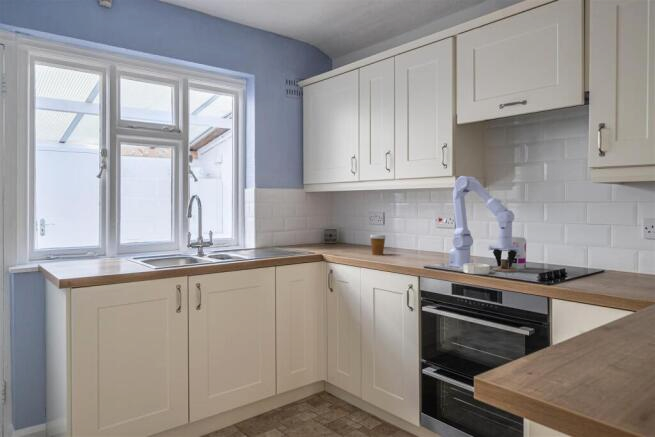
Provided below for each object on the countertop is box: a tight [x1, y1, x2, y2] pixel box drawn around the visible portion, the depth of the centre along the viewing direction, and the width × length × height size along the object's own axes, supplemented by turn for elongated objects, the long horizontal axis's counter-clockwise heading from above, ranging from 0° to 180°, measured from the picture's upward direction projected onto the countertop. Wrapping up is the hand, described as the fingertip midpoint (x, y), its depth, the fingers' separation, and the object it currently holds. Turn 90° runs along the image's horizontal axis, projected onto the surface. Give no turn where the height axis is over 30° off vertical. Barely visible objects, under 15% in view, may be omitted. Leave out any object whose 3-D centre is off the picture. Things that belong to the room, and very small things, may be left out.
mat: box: [490, 267, 521, 275], centre depth 211 cm, size 14×10×1 cm
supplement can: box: [506, 236, 527, 270], centre depth 219 cm, size 8×8×15 cm
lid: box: [492, 258, 518, 273], centre depth 210 cm, size 10×10×5 cm
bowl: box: [462, 262, 491, 275], centre depth 206 cm, size 11×11×4 cm
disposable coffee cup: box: [369, 233, 386, 256], centre depth 275 cm, size 10×10×12 cm
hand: (504, 266), depth 210 cm, fingers open, 4 cm apart
